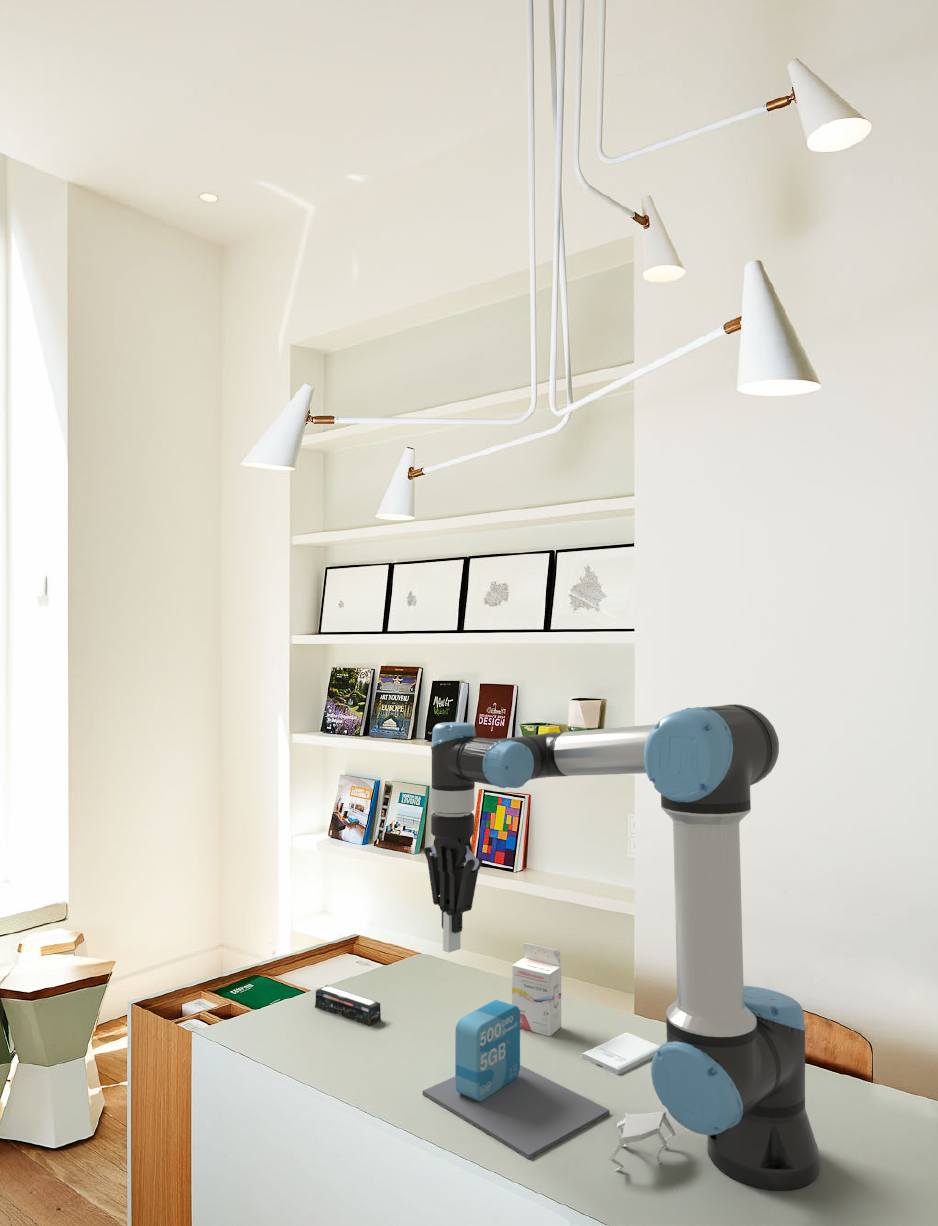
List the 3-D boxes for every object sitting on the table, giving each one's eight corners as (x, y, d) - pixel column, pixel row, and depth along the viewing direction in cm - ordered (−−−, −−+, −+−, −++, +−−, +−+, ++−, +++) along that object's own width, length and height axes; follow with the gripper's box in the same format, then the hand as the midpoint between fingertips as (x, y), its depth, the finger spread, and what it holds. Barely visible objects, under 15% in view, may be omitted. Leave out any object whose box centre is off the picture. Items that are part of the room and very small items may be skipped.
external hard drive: (662, 1055, 158) (617, 1078, 149) (625, 1040, 164) (581, 1060, 156) (662, 1046, 158) (617, 1068, 150) (625, 1031, 164) (581, 1051, 156)
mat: (609, 1113, 137) (609, 1109, 137) (529, 1158, 125) (529, 1154, 125) (502, 1059, 155) (502, 1055, 155) (422, 1094, 143) (422, 1090, 143)
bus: (332, 993, 185) (332, 973, 185) (424, 1024, 170) (424, 1002, 171) (279, 1017, 173) (279, 995, 174) (373, 1052, 159) (374, 1029, 159)
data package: (476, 1105, 138) (476, 1027, 139) (454, 1095, 141) (454, 1020, 142) (520, 1075, 148) (520, 1003, 148) (499, 1067, 151) (499, 996, 151)
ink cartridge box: (510, 1026, 168) (510, 948, 169) (523, 1017, 172) (522, 941, 173) (550, 1037, 164) (550, 957, 164) (562, 1027, 168) (562, 949, 168)
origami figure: (625, 1130, 133) (624, 1097, 133) (678, 1147, 128) (678, 1113, 128) (591, 1171, 122) (591, 1135, 123) (648, 1191, 118) (648, 1153, 118)
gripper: (494, 815, 150) (493, 954, 150) (444, 804, 160) (443, 935, 159) (461, 821, 145) (460, 965, 145) (412, 809, 155) (411, 944, 154)
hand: (451, 949), depth 152 cm, fingers closed
